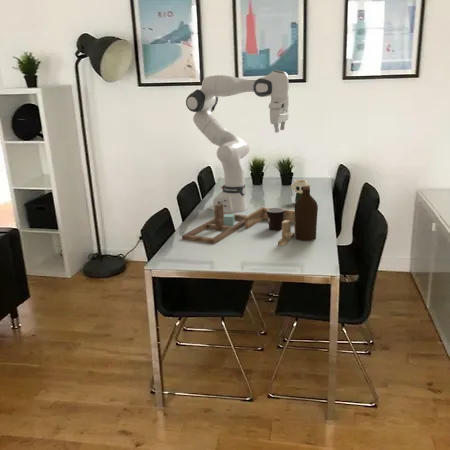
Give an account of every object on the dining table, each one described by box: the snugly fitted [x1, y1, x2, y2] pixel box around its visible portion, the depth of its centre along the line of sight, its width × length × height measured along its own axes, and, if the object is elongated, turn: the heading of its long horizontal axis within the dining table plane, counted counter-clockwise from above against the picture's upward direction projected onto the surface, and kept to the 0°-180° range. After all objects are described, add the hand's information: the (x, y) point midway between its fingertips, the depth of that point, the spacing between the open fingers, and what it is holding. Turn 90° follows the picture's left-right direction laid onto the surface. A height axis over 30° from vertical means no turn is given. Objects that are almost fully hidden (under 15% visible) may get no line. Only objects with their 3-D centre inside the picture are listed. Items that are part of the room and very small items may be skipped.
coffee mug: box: [267, 207, 285, 232], centre depth 256 cm, size 12×9×10 cm
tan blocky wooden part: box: [277, 220, 295, 247], centre depth 236 cm, size 3×14×10 cm, turn 151°
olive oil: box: [294, 185, 319, 242], centre depth 237 cm, size 11×11×25 cm
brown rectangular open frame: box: [181, 204, 247, 245], centre depth 256 cm, size 18×41×13 cm, turn 151°
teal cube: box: [224, 213, 236, 226], centre depth 266 cm, size 5×5×5 cm
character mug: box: [290, 179, 311, 203], centre depth 299 cm, size 11×7×13 cm, turn 80°
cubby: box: [244, 206, 296, 236], centre depth 259 cm, size 28×20×6 cm
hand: (279, 131), depth 265 cm, fingers open, 8 cm apart
